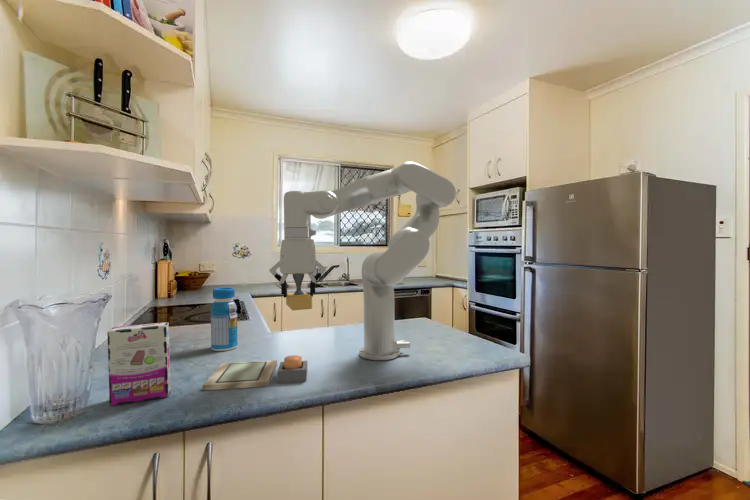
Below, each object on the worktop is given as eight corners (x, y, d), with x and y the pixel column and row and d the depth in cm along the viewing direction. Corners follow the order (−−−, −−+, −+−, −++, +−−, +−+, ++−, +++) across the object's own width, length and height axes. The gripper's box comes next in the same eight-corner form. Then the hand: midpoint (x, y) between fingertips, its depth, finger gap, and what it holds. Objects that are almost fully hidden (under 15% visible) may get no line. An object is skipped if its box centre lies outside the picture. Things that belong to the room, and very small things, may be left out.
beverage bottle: (212, 353, 114) (211, 290, 113) (209, 346, 121) (208, 288, 121) (240, 349, 118) (239, 288, 118) (236, 343, 125) (235, 286, 125)
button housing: (307, 371, 96) (307, 360, 96) (306, 381, 89) (306, 369, 89) (280, 373, 95) (280, 362, 95) (277, 383, 88) (277, 371, 88)
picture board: (276, 364, 102) (276, 359, 102) (268, 386, 86) (268, 380, 86) (221, 367, 100) (221, 362, 100) (202, 390, 84) (202, 384, 84)
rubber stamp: (312, 309, 99) (311, 266, 99) (291, 310, 97) (290, 266, 97) (305, 303, 109) (304, 264, 108) (286, 305, 106) (285, 265, 106)
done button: (302, 368, 95) (302, 354, 95) (301, 373, 90) (301, 360, 90) (285, 369, 94) (285, 355, 94) (283, 375, 90) (283, 361, 90)
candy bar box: (171, 389, 85) (169, 321, 85) (168, 397, 81) (167, 325, 80) (114, 398, 81) (113, 325, 80) (108, 407, 76) (106, 330, 76)
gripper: (327, 234, 108) (328, 293, 108) (268, 235, 105) (269, 295, 105) (328, 234, 100) (329, 297, 100) (264, 234, 98) (265, 299, 98)
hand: (298, 295), depth 103 cm, fingers closed on rubber stamp, 6 cm apart
